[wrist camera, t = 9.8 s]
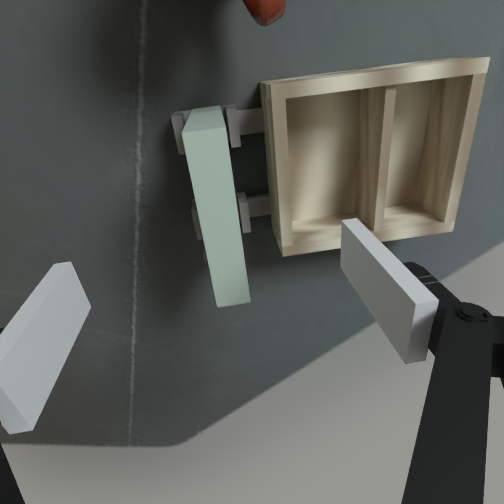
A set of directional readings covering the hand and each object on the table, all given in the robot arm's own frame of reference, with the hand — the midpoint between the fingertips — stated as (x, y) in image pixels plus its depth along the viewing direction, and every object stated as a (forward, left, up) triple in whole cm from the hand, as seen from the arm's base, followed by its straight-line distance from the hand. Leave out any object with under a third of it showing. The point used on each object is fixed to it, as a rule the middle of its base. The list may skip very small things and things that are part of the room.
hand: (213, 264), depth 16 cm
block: (0, -1, -17) cm, 17 cm away
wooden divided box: (+9, 0, -17) cm, 20 cm away
